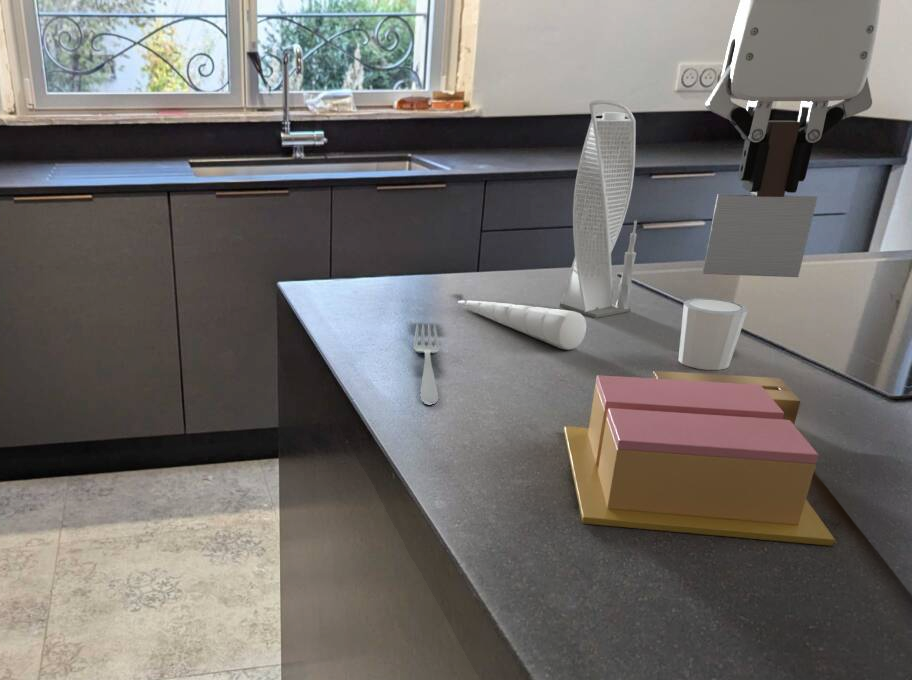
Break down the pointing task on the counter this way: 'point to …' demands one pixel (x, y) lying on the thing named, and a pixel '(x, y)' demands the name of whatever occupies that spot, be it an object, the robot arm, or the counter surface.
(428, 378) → the fork
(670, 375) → the knife stand
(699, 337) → the shot glass
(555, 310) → the unicorn horn
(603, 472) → the cake
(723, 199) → the knife
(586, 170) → the skyscraper
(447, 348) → the counter surface
